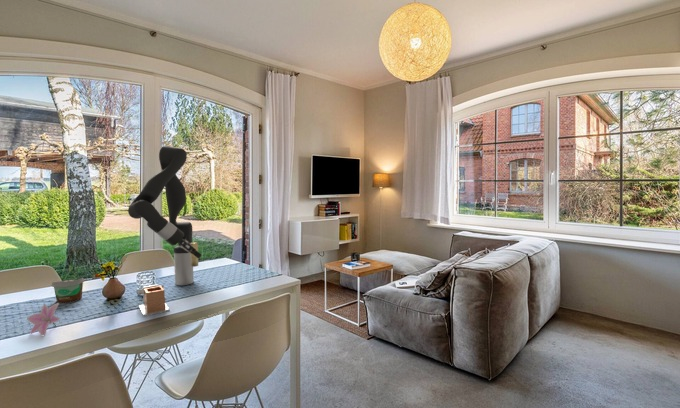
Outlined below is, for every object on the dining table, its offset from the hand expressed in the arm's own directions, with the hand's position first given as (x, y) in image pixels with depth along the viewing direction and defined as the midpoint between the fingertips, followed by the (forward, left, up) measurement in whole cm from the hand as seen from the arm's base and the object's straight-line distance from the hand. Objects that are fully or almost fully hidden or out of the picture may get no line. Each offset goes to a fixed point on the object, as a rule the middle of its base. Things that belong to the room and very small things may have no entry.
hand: (198, 255), depth 167 cm
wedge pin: (0, -2, -4) cm, 5 cm away
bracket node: (+4, -21, -20) cm, 29 cm away
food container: (-30, -51, -20) cm, 62 cm away
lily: (+4, -57, -20) cm, 61 cm away
